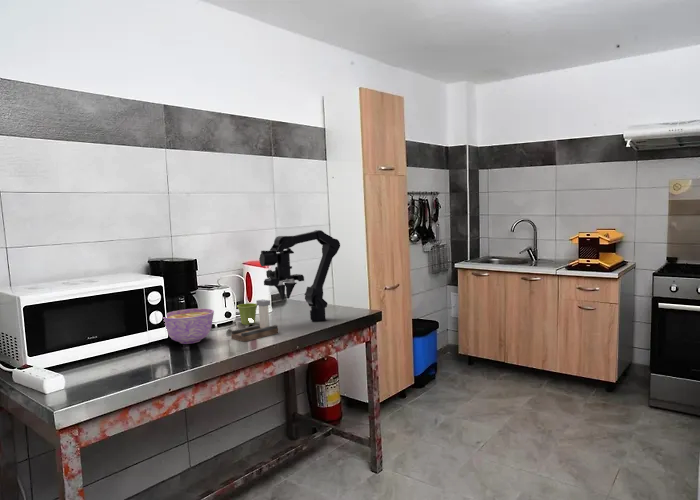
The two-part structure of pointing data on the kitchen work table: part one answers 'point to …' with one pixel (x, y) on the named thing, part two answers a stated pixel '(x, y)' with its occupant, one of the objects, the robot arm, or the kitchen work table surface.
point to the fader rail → (253, 332)
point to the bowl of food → (189, 325)
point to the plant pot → (247, 312)
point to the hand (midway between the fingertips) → (285, 299)
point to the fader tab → (263, 312)
